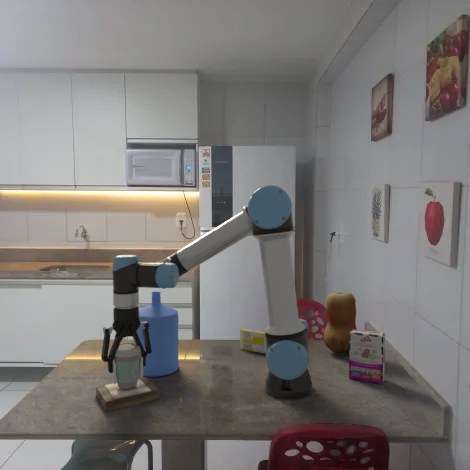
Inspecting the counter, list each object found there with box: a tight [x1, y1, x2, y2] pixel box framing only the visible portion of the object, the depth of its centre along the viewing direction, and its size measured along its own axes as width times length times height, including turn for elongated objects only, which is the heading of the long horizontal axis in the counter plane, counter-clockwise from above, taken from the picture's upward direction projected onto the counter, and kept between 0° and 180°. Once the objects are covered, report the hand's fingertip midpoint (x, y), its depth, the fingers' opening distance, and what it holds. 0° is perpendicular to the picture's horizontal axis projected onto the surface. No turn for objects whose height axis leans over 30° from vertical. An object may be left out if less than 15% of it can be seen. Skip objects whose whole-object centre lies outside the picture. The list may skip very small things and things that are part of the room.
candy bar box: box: [348, 329, 386, 385], centre depth 146 cm, size 11×5×16 cm, turn 64°
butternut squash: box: [323, 290, 358, 356], centre depth 171 cm, size 14×13×25 cm
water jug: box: [136, 291, 180, 378], centre depth 154 cm, size 16×16×28 cm
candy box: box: [239, 328, 267, 355], centre depth 174 cm, size 16×2×8 cm, turn 59°
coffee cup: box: [114, 342, 141, 389], centre depth 132 cm, size 8×9×12 cm
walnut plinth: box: [95, 376, 160, 412], centre depth 132 cm, size 12×16×3 cm
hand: (127, 379), depth 132 cm, fingers closed on coffee cup, 8 cm apart
